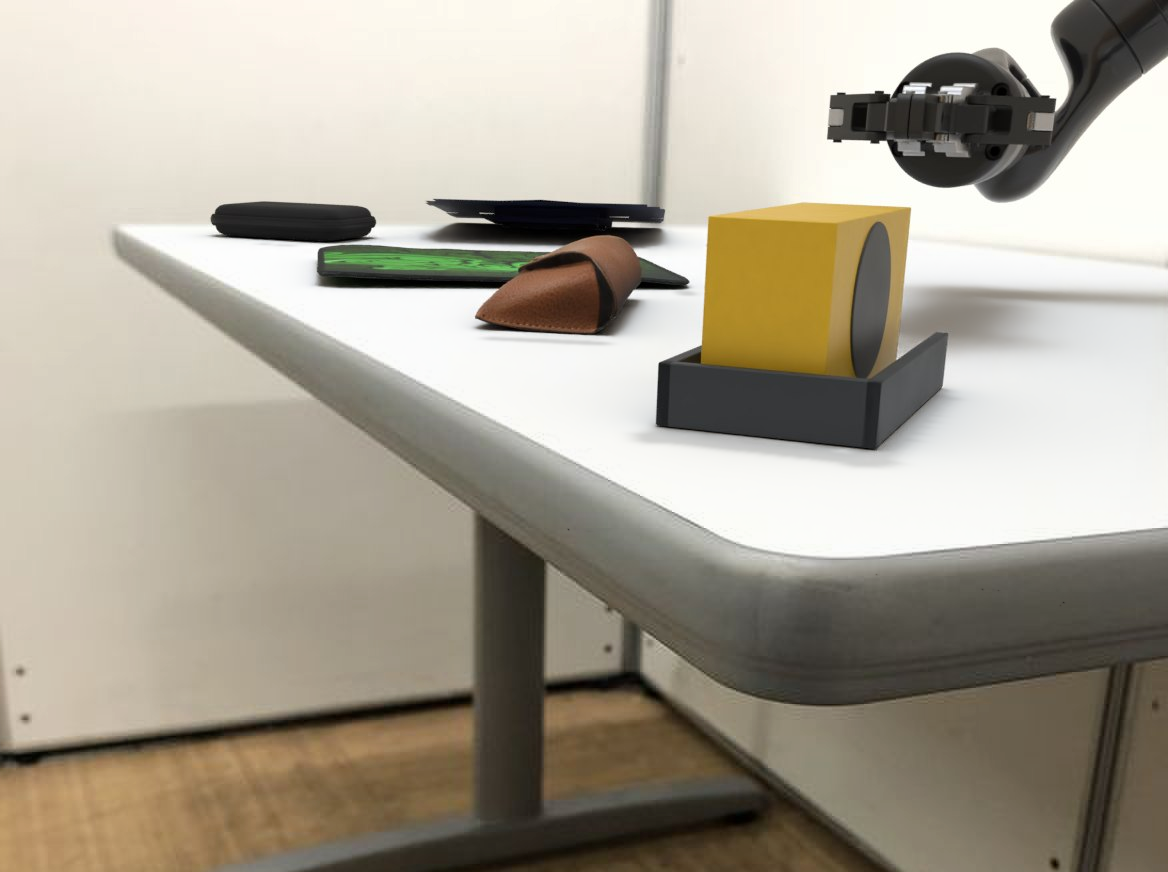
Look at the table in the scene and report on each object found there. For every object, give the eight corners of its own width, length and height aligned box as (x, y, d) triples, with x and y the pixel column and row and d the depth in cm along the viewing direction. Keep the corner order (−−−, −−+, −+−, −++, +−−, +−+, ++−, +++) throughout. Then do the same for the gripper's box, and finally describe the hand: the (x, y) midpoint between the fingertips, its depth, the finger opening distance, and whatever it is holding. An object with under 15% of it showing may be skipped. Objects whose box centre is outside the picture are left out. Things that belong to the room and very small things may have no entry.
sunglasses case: (517, 285, 97) (568, 200, 94) (603, 341, 97) (656, 258, 95) (469, 319, 80) (530, 217, 77) (573, 388, 80) (637, 287, 78)
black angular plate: (412, 227, 135) (412, 188, 134) (453, 242, 164) (454, 209, 164) (665, 234, 134) (667, 195, 133) (662, 247, 163) (663, 215, 163)
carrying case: (389, 236, 141) (263, 229, 146) (388, 205, 140) (261, 199, 145) (335, 243, 132) (202, 236, 137) (334, 210, 131) (200, 203, 136)
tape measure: (787, 376, 67) (800, 202, 65) (896, 386, 65) (913, 207, 63) (694, 424, 56) (705, 215, 53) (822, 438, 54) (840, 222, 51)
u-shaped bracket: (761, 370, 69) (765, 318, 68) (942, 386, 65) (948, 332, 65) (655, 425, 55) (657, 362, 55) (875, 449, 52) (881, 382, 51)
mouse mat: (635, 258, 123) (635, 246, 122) (698, 287, 102) (699, 272, 102) (317, 255, 118) (316, 243, 118) (317, 285, 98) (316, 270, 97)
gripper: (1066, 190, 85) (1036, 199, 69) (848, 182, 89) (775, 189, 74) (1084, 56, 82) (1056, 36, 67) (858, 55, 87) (785, 36, 72)
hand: (908, 116), depth 71 cm, fingers closed
